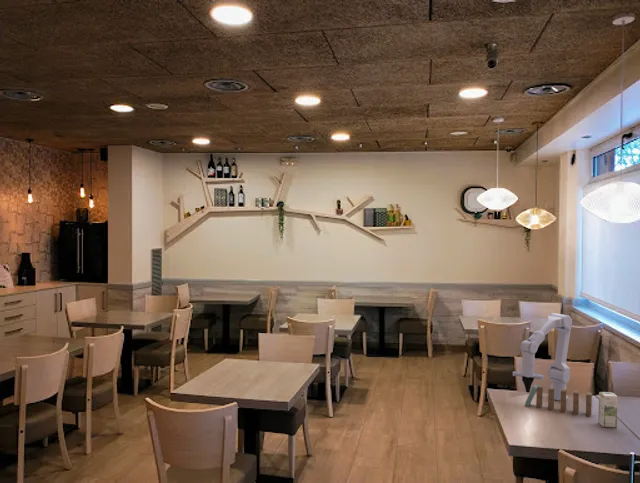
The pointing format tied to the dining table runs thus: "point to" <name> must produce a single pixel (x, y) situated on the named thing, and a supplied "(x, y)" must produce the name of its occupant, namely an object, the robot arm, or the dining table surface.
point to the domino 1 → (531, 395)
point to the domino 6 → (588, 404)
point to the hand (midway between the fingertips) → (527, 392)
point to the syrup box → (608, 409)
